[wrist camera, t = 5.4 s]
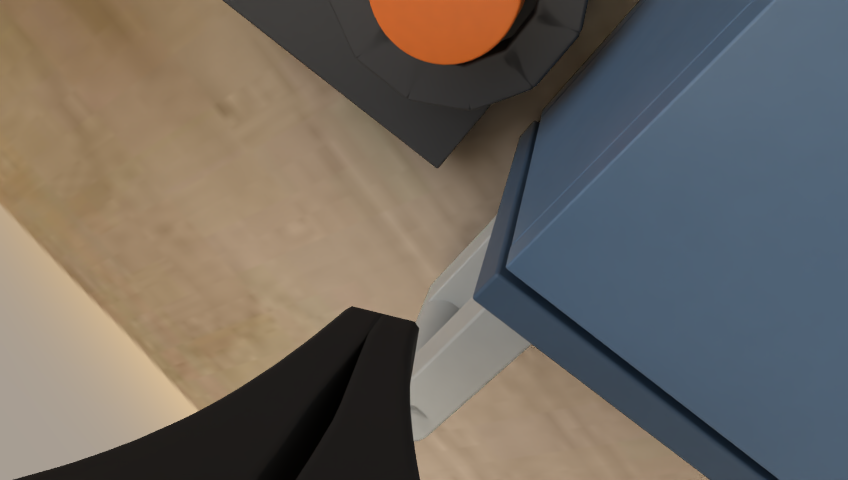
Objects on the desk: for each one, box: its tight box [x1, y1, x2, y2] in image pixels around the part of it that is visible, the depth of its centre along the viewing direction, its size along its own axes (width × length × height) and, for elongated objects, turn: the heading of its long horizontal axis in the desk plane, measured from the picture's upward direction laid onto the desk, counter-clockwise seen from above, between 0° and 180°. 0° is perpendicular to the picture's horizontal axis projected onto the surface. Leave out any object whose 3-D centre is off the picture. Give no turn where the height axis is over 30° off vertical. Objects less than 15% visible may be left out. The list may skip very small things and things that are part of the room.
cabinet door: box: [410, 121, 779, 480], centre depth 19 cm, size 6×14×9 cm, turn 55°
